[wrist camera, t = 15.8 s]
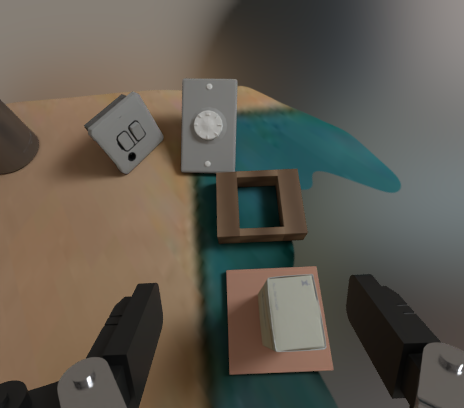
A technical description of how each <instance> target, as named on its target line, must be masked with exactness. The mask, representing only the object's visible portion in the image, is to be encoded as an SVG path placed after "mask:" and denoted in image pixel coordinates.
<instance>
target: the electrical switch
mask: <svg viewBox="0 0 464 408" xmlns="http://www.w3.org/2000/svg"><path fill="white" fill-rule="evenodd" d="M84 126H85V128H86V127H87V128H86V129H87V131H88V134H89V135H90V137H91V138H92V139H93V140H94V141H96V142H97V143H98V144H99V146H100V147H101V148H102V149H103V150H104V151H105V153H106V154H107V155H108V156H109V157H110V158H111V160H112V161H113V162H114V163H115V164H116V165H117V168H118V169H119V170H120V171H121V172H122V173H125V174H128V173H129V172H131V171H132V170H133V169H134V168H135V167H136V166H137V165H138V164H139V163H140V162H141V161H142V160H143V159H144V158H145V157H146V156H147V155H148V154H149V153H150V152H151V151H152V150H153V149H154V148H155V147H156V146H157V145H158V144H159V143H160V142H161V141H162V140H163V134H162V133H161V131H160V129H159V128H158V126H157V124H156V122H155V121H154V119H153V117H152V116H151V114H150V112H149V110H148V109H147V107H146V105H145V104H144V102H143V100H142V99H141V97H140V95H139V94H137V93H135V92H131V93H130V94H129V95H127V96H125V95H122V94H121V95H120V96H119V97H118V98H117V99H115V100H114V101H113V102H112V103H111V104H109V105H108V106H107V107H106V108H105V109H103V110H102V111H101V112H100V113H99V114H97V115H96V116H95V117H94V118H92V119H91V120H90V121H89V122H88V123H86V124H85V125H84Z"/></svg>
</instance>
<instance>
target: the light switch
mask: <svg viewBox="0 0 464 408" xmlns="http://www.w3.org/2000/svg"><path fill="white" fill-rule="evenodd" d="M182 85H183V86H182V141H181V172H184V173H218V172H235V149H236V114H237V80H236V79H183V83H182ZM196 133H197V134H196Z"/></svg>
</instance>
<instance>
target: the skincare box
mask: <svg viewBox="0 0 464 408" xmlns="http://www.w3.org/2000/svg"><path fill="white" fill-rule="evenodd" d="M258 305H259V317H260V327H261V336H262V345H263V346H265V347H267V348H269V349H272V350H274V351H276V352H295V351H312V350H324V349H326V347H327V346H326V339H325V333H324V327H323V321H322V316H321V310H320V305H319V300H318V295H317V290H316V286H315V281H314V276H313V274H303V275H288V276H277V277H269V278H268V279H267V280H266V282H265V284H264V285H263V287H262V288H261V290H260V291H259V293H258Z"/></svg>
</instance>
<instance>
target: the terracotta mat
mask: <svg viewBox="0 0 464 408" xmlns="http://www.w3.org/2000/svg"><path fill="white" fill-rule="evenodd" d="M226 271H227V304H228V338H229V371H230V375H232V374H256V373H280V372H304V371H328V370H333V364H332V358H331V352H330V346H329V340H328V334H327V328H326V322H325V316H324V310H323V304H322V298H321V292H320V286H319V280H318V274H317V268H316V266H314V267H291V268H269V269H246V270H226ZM303 274H313V276H314V281H315V286H316V290H317V295H318V300H319V305H320V310H321V316H322V321H323V327H324V333H325V339H326V346H327V347H326V349H324V350H312V351H295V352H276V351H274V350H272V349H269V348H267V347H265V346H263V345H262V336H261V327H260V317H259V305H258V293H259V291H260V290H261V288H262V287H263V285H264V284H265V282H266V280H267V279H268V278H269V277H277V276H288V275H303Z"/></svg>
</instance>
